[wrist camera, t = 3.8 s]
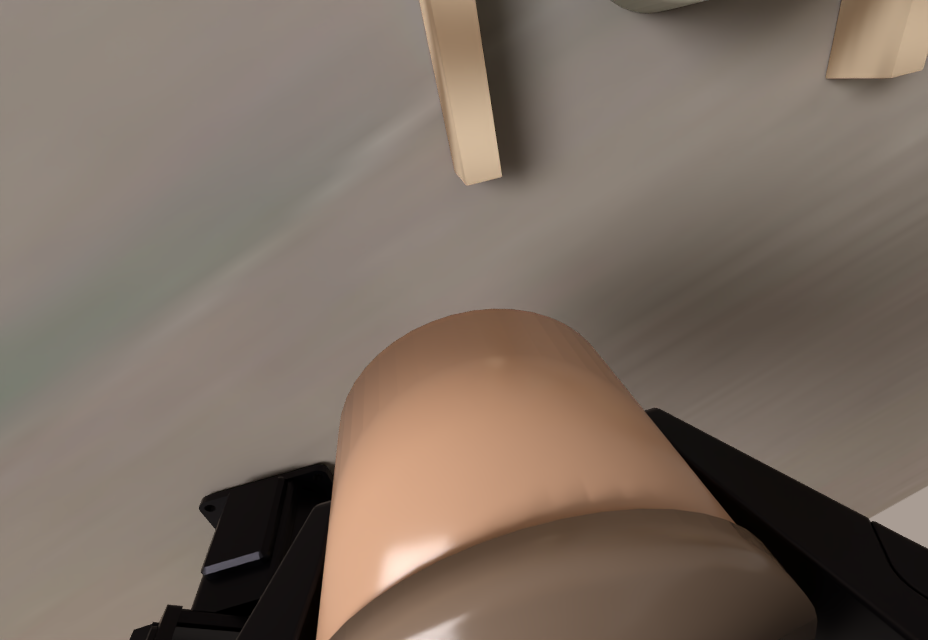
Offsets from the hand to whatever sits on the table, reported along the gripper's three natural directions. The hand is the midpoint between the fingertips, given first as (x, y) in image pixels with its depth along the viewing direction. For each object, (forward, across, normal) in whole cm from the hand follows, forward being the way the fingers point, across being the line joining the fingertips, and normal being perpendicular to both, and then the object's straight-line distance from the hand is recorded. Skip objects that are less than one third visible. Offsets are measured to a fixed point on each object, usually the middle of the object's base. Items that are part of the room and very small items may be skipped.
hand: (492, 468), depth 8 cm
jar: (+1, 0, 0) cm, 1 cm away
